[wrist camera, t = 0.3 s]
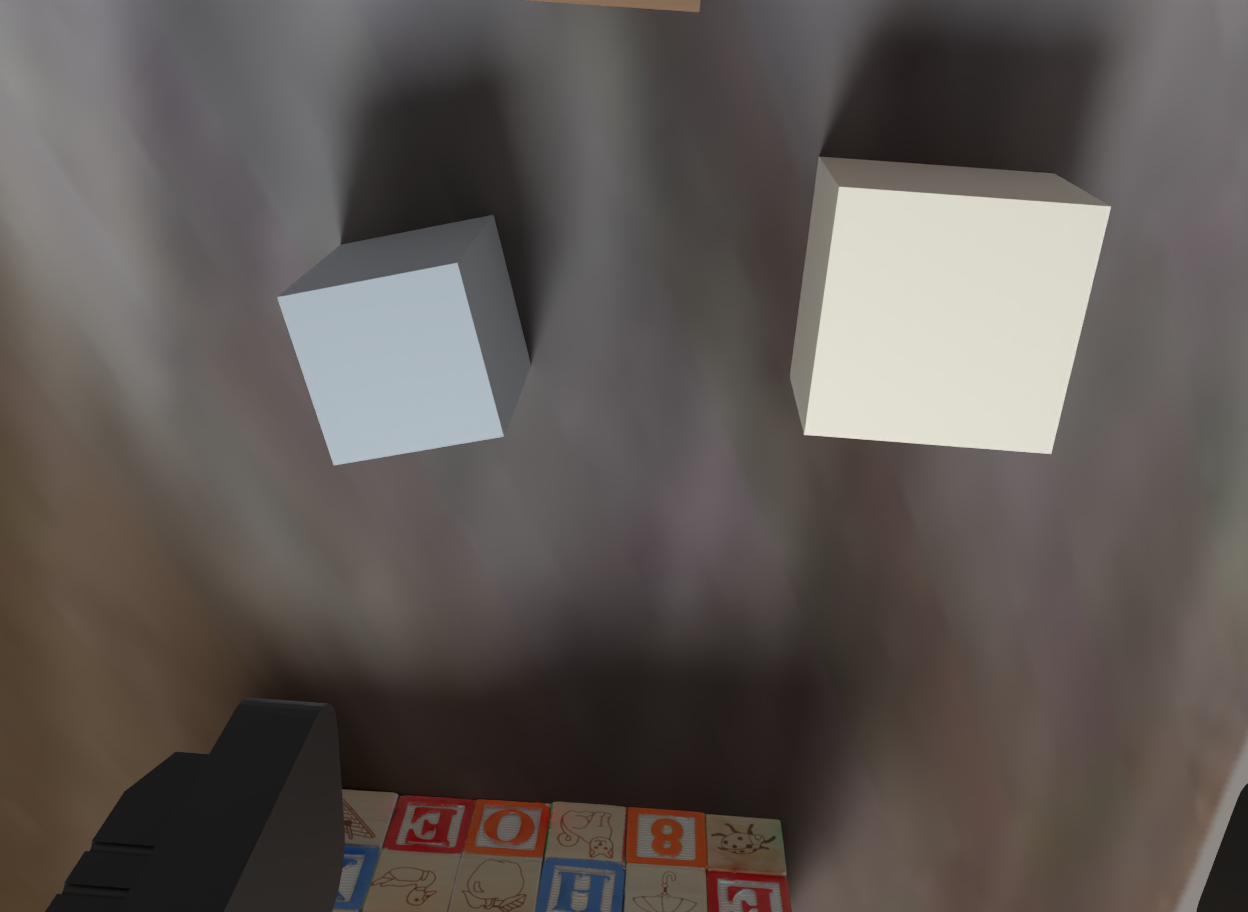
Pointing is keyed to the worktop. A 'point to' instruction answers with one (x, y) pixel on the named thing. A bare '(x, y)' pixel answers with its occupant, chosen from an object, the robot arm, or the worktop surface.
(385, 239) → the slate-grey block
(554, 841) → the stack of blocks
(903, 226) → the base block
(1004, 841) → the worktop surface
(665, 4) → the walnut block
